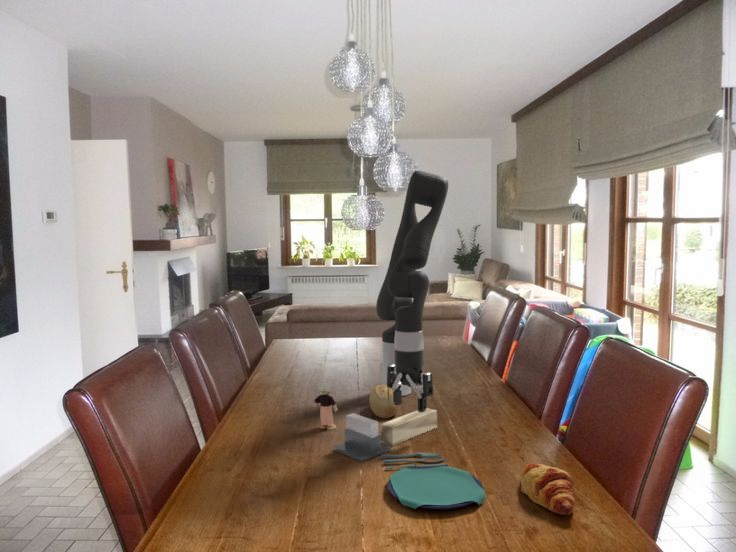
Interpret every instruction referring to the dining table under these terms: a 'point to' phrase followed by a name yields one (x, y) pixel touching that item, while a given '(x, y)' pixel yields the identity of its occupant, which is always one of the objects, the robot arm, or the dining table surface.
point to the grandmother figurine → (326, 406)
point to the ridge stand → (361, 438)
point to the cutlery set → (432, 484)
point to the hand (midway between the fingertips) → (409, 408)
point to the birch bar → (408, 426)
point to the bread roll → (383, 401)
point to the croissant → (548, 487)
